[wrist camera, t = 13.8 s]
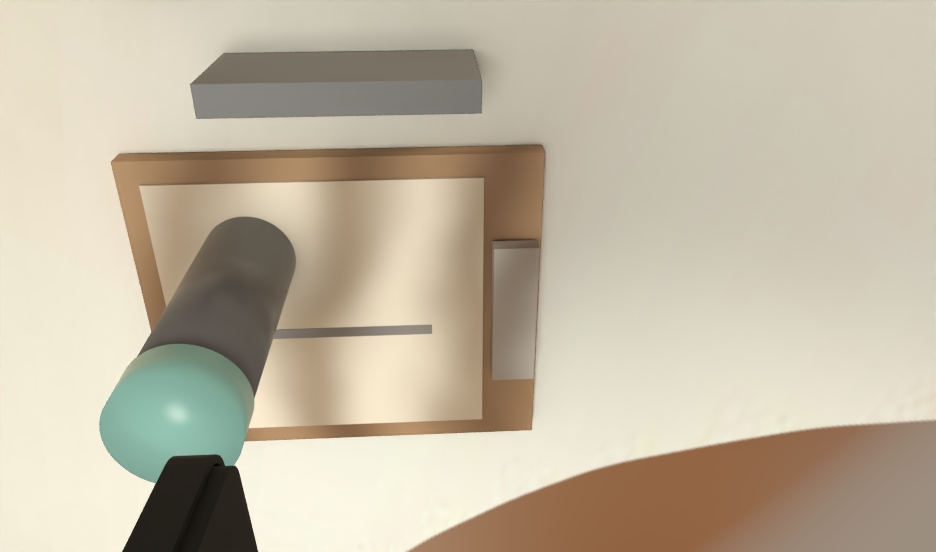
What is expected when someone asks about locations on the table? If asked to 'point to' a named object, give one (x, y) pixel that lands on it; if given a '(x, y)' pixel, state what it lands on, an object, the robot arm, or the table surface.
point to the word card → (339, 84)
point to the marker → (203, 353)
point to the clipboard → (367, 278)
